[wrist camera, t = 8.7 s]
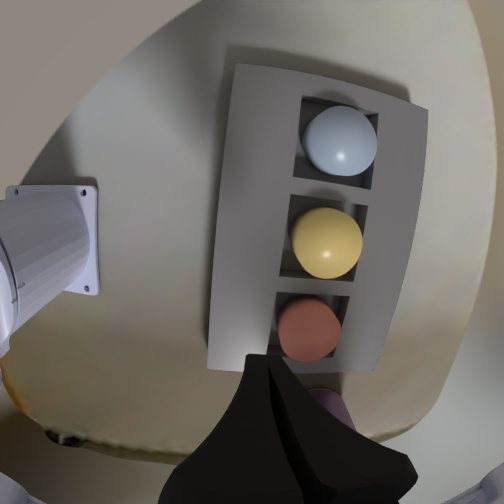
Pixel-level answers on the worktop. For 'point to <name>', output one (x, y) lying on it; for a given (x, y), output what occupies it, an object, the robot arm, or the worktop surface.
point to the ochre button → (326, 241)
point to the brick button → (307, 328)
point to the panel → (298, 200)
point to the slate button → (340, 141)
